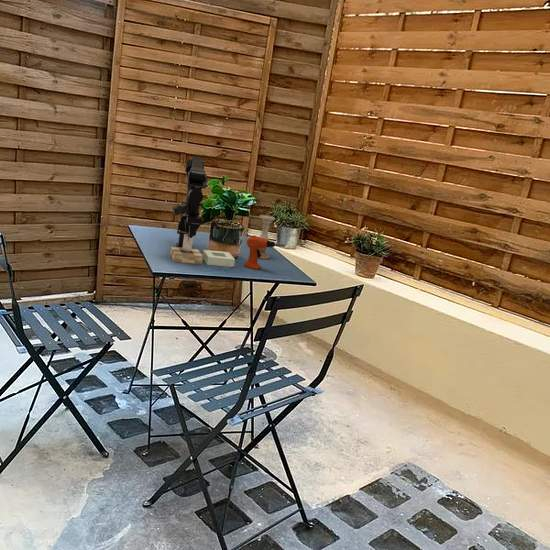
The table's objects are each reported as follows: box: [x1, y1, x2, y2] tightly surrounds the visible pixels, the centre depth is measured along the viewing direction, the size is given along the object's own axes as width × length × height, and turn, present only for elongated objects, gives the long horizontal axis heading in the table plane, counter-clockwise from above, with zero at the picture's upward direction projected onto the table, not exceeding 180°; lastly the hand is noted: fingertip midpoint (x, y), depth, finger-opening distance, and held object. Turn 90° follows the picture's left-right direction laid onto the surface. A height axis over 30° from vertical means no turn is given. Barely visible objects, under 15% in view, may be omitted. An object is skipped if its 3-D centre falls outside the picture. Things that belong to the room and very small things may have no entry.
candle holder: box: [258, 214, 276, 260], centre depth 265 cm, size 9×9×20 cm
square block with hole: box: [201, 249, 236, 268], centre depth 243 cm, size 12×12×4 cm
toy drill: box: [243, 235, 286, 270], centre depth 241 cm, size 5×19×15 cm, turn 67°
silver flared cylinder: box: [182, 234, 194, 253], centre depth 237 cm, size 4×4×11 cm
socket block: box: [169, 246, 203, 265], centre depth 238 cm, size 12×12×4 cm
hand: (188, 235), depth 236 cm, fingers open, 9 cm apart
